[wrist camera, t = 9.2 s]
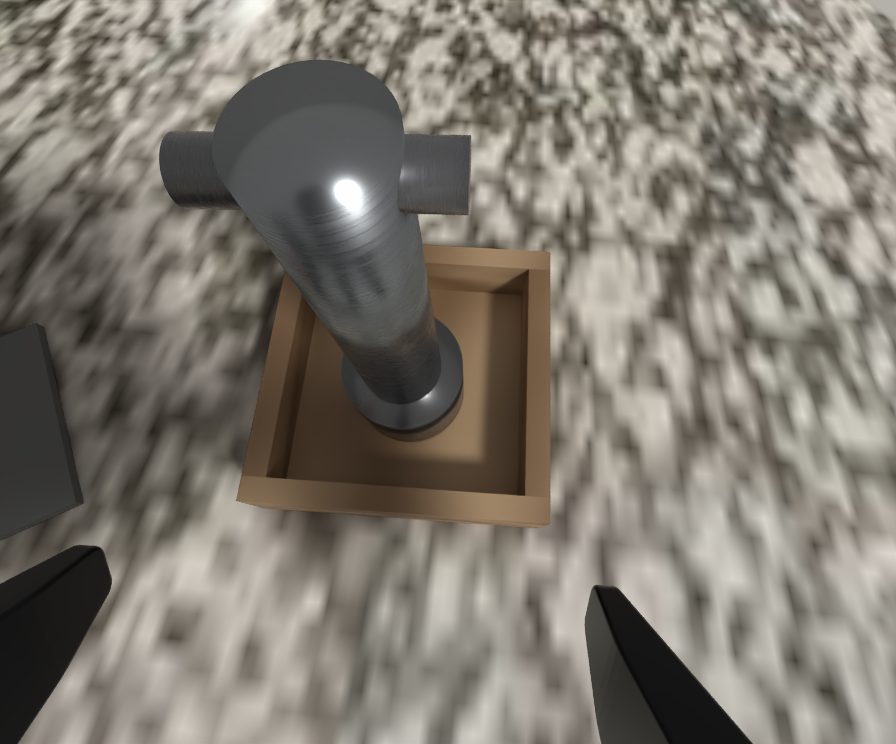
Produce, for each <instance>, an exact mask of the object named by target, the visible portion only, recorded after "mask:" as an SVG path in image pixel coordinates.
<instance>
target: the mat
mask: <svg viewBox="0 0 896 744" xmlns="http://www.w3.org/2000/svg"><path fill="white" fill-rule="evenodd" d="M81 504H83V499H82V494H81V490H80V485H79V481H78V476H77V472H76V468H75V463H74V459H73V454H72V450H71V445H70V441H69V437H68V432H67V428H66V423H65V419H64V414H63V410H62V405H61V401H60V397H59V392H58V388H57V383H56V379H55V374H54V370H53V366H52V361H51V357H50V352H49V348H48V343H47V339H46V334H45V330H44V327H43V326H41V325H39V324H38V323H35V324H32V325H30V326H27V327H24V328H22V329H19V330H17V331H14V332H12V333H9V334H6V335H4V336H1V337H0V540H3V539H5V538H7V537H9V536H11V535H14V534H16V533H18V532H20V531H23V530H25V529H27V528H29V527H32V526H34V525H36V524H38V523H41V522H43V521H45V520H47V519H49V518H52V517H54V516H56V515H58V514H61V513H63V512H65V511H67V510H70V509H72V508H74V507H76V506H79V505H81Z"/></svg>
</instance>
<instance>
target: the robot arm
mask: <svg viewBox="0 0 896 744" xmlns="http://www.w3.org/2000/svg"><path fill="white" fill-rule="evenodd" d="M111 585H112V578H111V574H110V571H109V567H108V564H107V561H106V557H105V554H104V551H103V550H102V549H101V548H100V547H98V546H89V545H76V546H73V547H71V548H69V549H67V550H65V551H63V552H61V553H59V554H57V555H55V556H53V557H51V558H50V559H48V560H46V561H44V562H42V563H40V564H38V565H36V566H34V567H32V568H30V569H28V570H26V571H24V572H22V573H20V574H19V575H17V576H15V577H13V578H11V579H9V580H7V581H5V582H3V583H1V584H0V744H18V743H19V741H20V740H21V738H22V737H23V735H24V734H25V732H26V731H27V729H28V728H29V726H30V725H31V723H32V722H33V720H34V719H35V717H36V716H37V714H38V713H39V711H40V710H41V708H42V707H43V705H44V704H45V702H46V701H47V699H48V698H49V696H50V695H51V693H52V692H53V690H54V689H55V687H56V686H57V684H58V683H59V681H60V679H61V678H62V676H63V675H64V673H65V671H66V669H67V668H68V666H69V664H70V663H71V661H72V659H73V657H74V655H75V654H76V652H77V650H78V648H79V646H80V645H81V643H82V641H83V639H84V637H85V636H86V634H87V632H88V630H89V628H90V627H91V625H92V623H93V621H94V619H95V617H96V616H97V614H98V612H99V610H100V608H101V607H102V605H103V603H104V601H105V599H106V598H107V596H108V594H109V592H110V589H111ZM585 634H586V642H587V650H588V658H589V666H590V674H591V681H592V689H593V697H594V705H595V712H596V719H597V725H598V730H599V735H600V740H601V744H753V743H752V742H751V741H750V740H749V739H748V737H747V736H746V735H745V734H744V733H743V732H742V731H741V729H740V728H739V727H738V726H737V725H736V724H735V722H734V721H733V720H732V719H731V718H730V717H729V715H728V714H727V713H726V712H725V711H724V710H723V709H722V707H721V706H720V705H719V704H718V703H717V702H716V700H715V699H714V698H713V697H712V696H711V695H710V694H709V692H708V691H707V690H706V689H705V688H704V687H703V685H702V684H701V683H700V682H699V681H698V680H697V679H696V677H695V676H694V675H693V674H692V673H691V672H690V670H689V669H688V668H687V667H686V666H685V665H684V664H683V662H682V661H681V660H680V659H679V658H678V657H677V655H676V654H675V653H674V652H673V651H672V650H671V649H670V647H669V646H668V645H667V644H666V643H665V642H664V640H663V639H662V638H661V637H660V636H659V635H658V634H657V632H656V631H655V630H654V629H653V628H652V627H651V625H650V624H649V623H648V622H647V621H646V620H645V619H644V617H643V616H642V615H641V614H640V613H639V612H638V610H637V609H636V608H635V607H634V606H633V605H632V604H631V602H630V601H629V600H628V599H627V598H626V597H625V595H624V594H623V593H622V592H621V591H620V590H619V589H618V588H617V587H614V586H604V585H595V586H593V588H592V590H591V594H590V598H589V603H588V607H587V611H586V616H585Z"/></svg>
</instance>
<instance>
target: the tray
mask: <svg viewBox="0 0 896 744" xmlns="http://www.w3.org/2000/svg"><path fill="white" fill-rule="evenodd" d="M423 251H424V257H425V264H426V270H427V276H428V282H429V288H430V294H431V301H432V307H433V313H434V318H436V319H437V320H439V321H440V322H442V323H443V324H444V325H445V326H446V327H447V328H448V329H449V330H450V331H451V332H452V333H453V335H454V337H455V338H456V340H457V342H458V344H459V346H460V350H461V353H462V359H463V380H464V396H463V402H462V405H461V408H460V411H459V413H458V415H457V416H456V418H455V419H454V421H453V422H452V423H451V424H450V425H449V426H448V427H447V428H446V429H445V430H444V431H443V432H441V433H440V434H438V435H436V436H435V437H432V438H430V439H427V440H424V441H419V442H402V441H397V440H394V439H391V438H389V437H387V436H385V435H383V434H381V433H380V432H379V431H378V430H376V429H375V428H374V427H373V426H372V425H371V424H370V422H369V421H368V420H367V419H366V418H365V417H364V416H363V415H362V414H361V413H360V412H359V411H358V409H357V408H356V407H355V406H354V405H353V404H352V402H351V401H350V399H349V398H348V396H347V394H346V392H345V389H344V386H343V382H342V376H341V365H342V359H343V355H344V353H343V351H342V350H341V349H340V347H339V346H338V344H337V343H336V342H335V340H334V339H333V337H332V336H331V334H330V333H329V332H328V330H327V329H326V327H325V326H324V325H323V323H322V322H321V320H320V319H319V318H318V316H317V315H316V313H315V312H314V310H313V309H312V308H311V306H310V305H309V303H308V302H307V301H306V299H305V298H304V296H303V295H302V293H301V292H300V291H299V289H298V288H297V286H296V285H295V284H294V282H293V281H292V279H291V278H290V276H289V275H288V274H287V272H286V271H285V273H284V278H283V282H282V287H281V292H280V296H279V301H278V306H277V311H276V315H275V320H274V325H273V329H272V334H271V339H270V344H269V348H268V353H267V358H266V362H265V367H264V372H263V376H262V381H261V386H260V391H259V395H258V400H257V405H256V409H255V414H254V419H253V424H252V428H251V433H250V438H249V442H248V447H247V452H246V457H245V461H244V466H243V471H242V475H241V480H240V485H239V490H238V494H237V499H236V501H239V502H243V503H247V504H251V505H255V506H259V507H262V508H271V509H284V510H298V511H312V512H325V513H339V514H352V515H366V516H379V517H393V518H406V519H420V520H434V521H447V522H461V523H474V524H488V525H501V526H515V527H529V528H539V527H542V526H545V525H549V524H550V252H541V251H524V250H507V249H490V248H473V247H456V246H439V245H423Z"/></svg>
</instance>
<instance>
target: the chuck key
mask: <svg viewBox="0 0 896 744" xmlns="http://www.w3.org/2000/svg"><path fill="white" fill-rule="evenodd" d="M159 163H160V171H161V175H162V179H163V182H164V185H165V187H166V190H167V191H168V193H169V195H170V197H171V198H172V199H173V201H174V202H175V203H176V204H177V205H179V206H180V207H182V208H185V209H219V210H243V211H244V213H245V214H246V216H247V217H248V218H249V220H250V221H251V223H252V224H253V226H254V227H255V228H256V230H257V231H258V233H259V234H260V235H261V237H262V238H263V240H264V241H265V242H266V244H267V245H268V247H269V248H270V250H271V251H272V252H273V254H274V255H275V257H276V258H277V259H278V261H279V262H280V264H281V265H282V267H283V268H284V269H285V271H286V272H287V274H288V275H289V276H290V278H291V279H292V281H293V282H294V284H295V285H296V286H297V288H298V289H299V291H300V292H301V293H302V295H303V296H304V298H305V299H306V301H307V302H308V303H309V305H310V306H311V308H312V309H313V310H314V312H315V313H316V315H317V316H318V318H319V319H320V320H321V322H322V323H323V325H324V326H325V327H326V329H327V330H328V332H329V333H330V334H331V336H332V337H333V339H334V340H335V342H336V343H337V344H338V346H339V347H340V349H341V350H342V351H343V353H344V355H343V359H342V365H341V376H342V382H343V386H344V389H345V392H346V394H347V396H348V398H349V399H350V401H351V402H352V404H353V405H354V406H355V407H356V408H357V409H358V411H359V412H360V413H361V414H362V415H363V416H364V417H365V418H366V419H367V420H368V421H369V422H370V424H371V425H372V426H373V427H374V428H375V429H376V430H378V431H379V432H380V433H381V434H383V435H385V436H387V437H389V438H391V439H394V440H397V441H402V442H419V441H424V440H427V439H430V438H432V437H435V436H436V435H438V434H440V433H441V432H443V431H444V430H445V429H446V428H447V427H448V426H449V425H450V424H451V423H452V422H453V421H454V419H455V418H456V416H457V415H458V413H459V411H460V408H461V405H462V402H463V396H464V380H463V359H462V353H461V350H460V346H459V344H458V342H457V340H456V338H455V337H454V335H453V333H452V332H451V331H450V330H449V329H448V328H447V327H446V326H445V325H444V324H443V323H442V322H440V321H439V320H437V319H436V318H434V313H433V307H432V301H431V294H430V288H429V282H428V276H427V270H426V264H425V257H424V251H423V245H422V239H421V233H420V227H419V220H418V214H443V215H469V201H470V175H471V135H426V134H404V128H403V122H402V116H401V112H400V109H399V106H398V103H397V101H396V99H395V98H394V96H393V94H392V93H391V92H390V90H389V89H388V88H387V87H386V86H385V85H384V84H383V83H382V82H381V81H380V80H379V79H378V78H376V77H375V76H374V75H372V74H370V73H369V72H367V71H365V70H363V69H361V68H359V67H356V66H354V65H350V64H347V63H343V62H337V61H331V60H307V61H300V62H295V63H290V64H286V65H283V66H280V67H277V68H275V69H272V70H270V71H268V72H266V73H264V74H262V75H260V76H258V77H257V78H255V79H253V80H252V81H250V82H249V83H248V84H246V85H245V86H244V87H243V88H242V89H240V90H239V91H238V92H237V93H236V94H235V95H234V96H233V97H232V99H231V100H230V101H229V102H228V103H227V105H226V106H225V108H224V109H223V111H222V113H221V115H220V117H219V119H218V121H217V123H216V126H215V129H214V132H205V131H171V132H169V133H167V134H166V135H165V137H164V138H163V140H162V143H161V146H160V153H159Z"/></svg>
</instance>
